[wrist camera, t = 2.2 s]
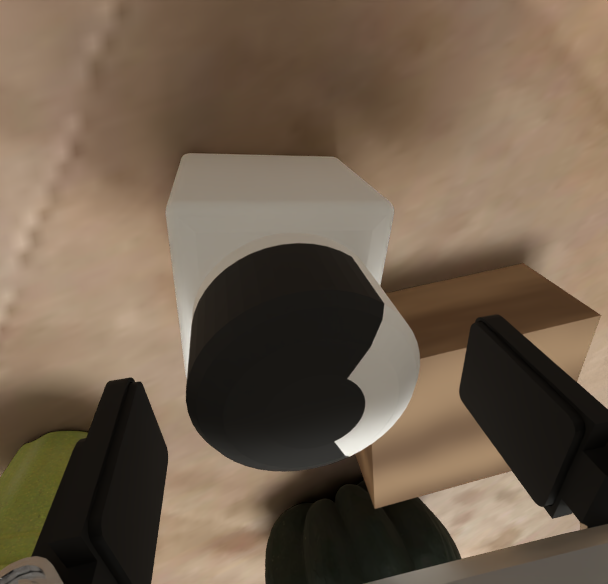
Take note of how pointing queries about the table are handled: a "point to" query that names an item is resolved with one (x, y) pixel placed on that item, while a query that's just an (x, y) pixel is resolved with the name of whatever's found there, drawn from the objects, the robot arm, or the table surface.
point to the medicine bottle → (286, 308)
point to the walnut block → (448, 370)
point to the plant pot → (31, 491)
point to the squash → (355, 540)
